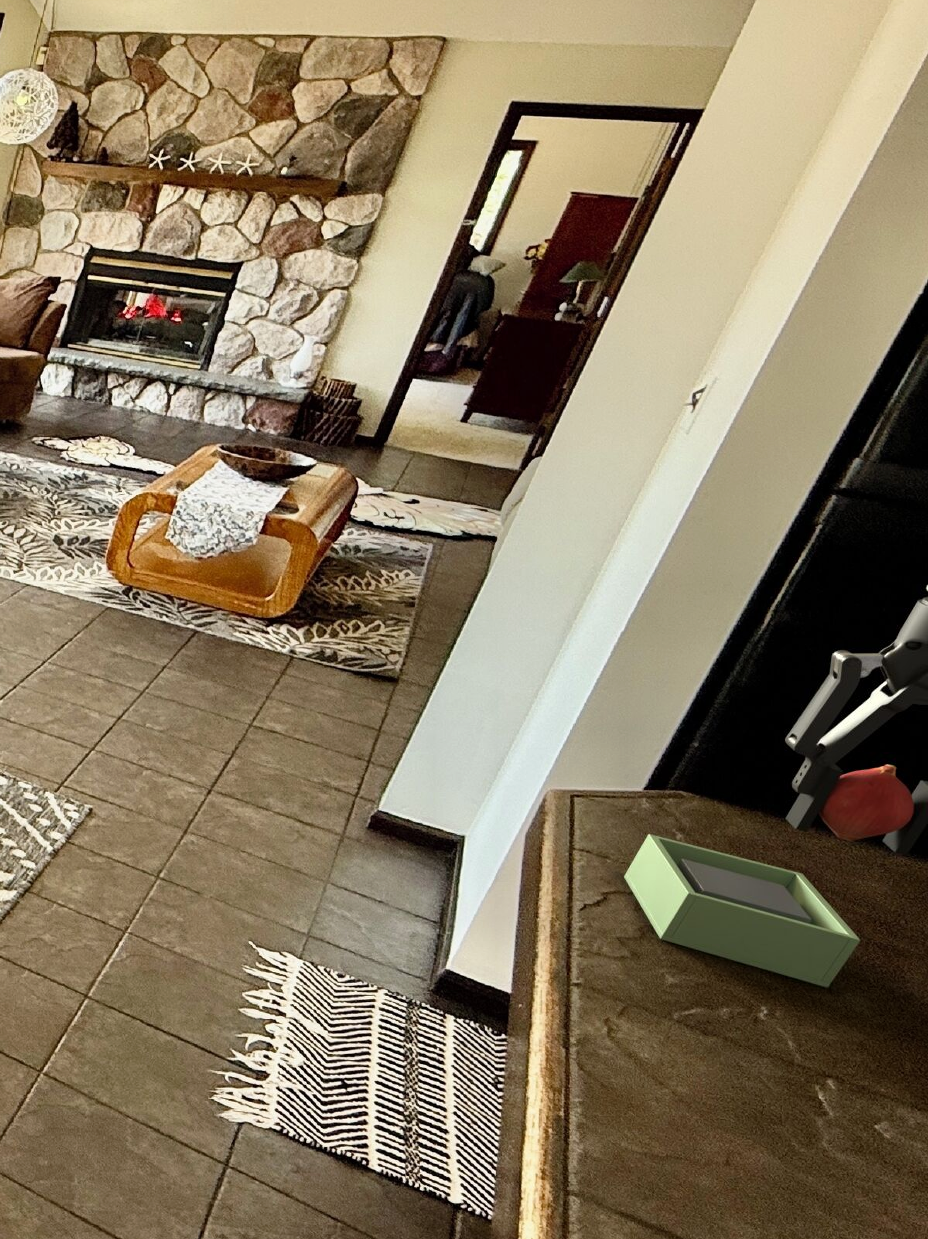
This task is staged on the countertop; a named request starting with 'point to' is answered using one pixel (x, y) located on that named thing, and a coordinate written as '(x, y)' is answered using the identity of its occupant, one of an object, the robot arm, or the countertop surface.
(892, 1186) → the countertop surface
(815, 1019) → the countertop surface
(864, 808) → the onion
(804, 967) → the crate
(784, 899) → the block
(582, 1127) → the countertop surface
